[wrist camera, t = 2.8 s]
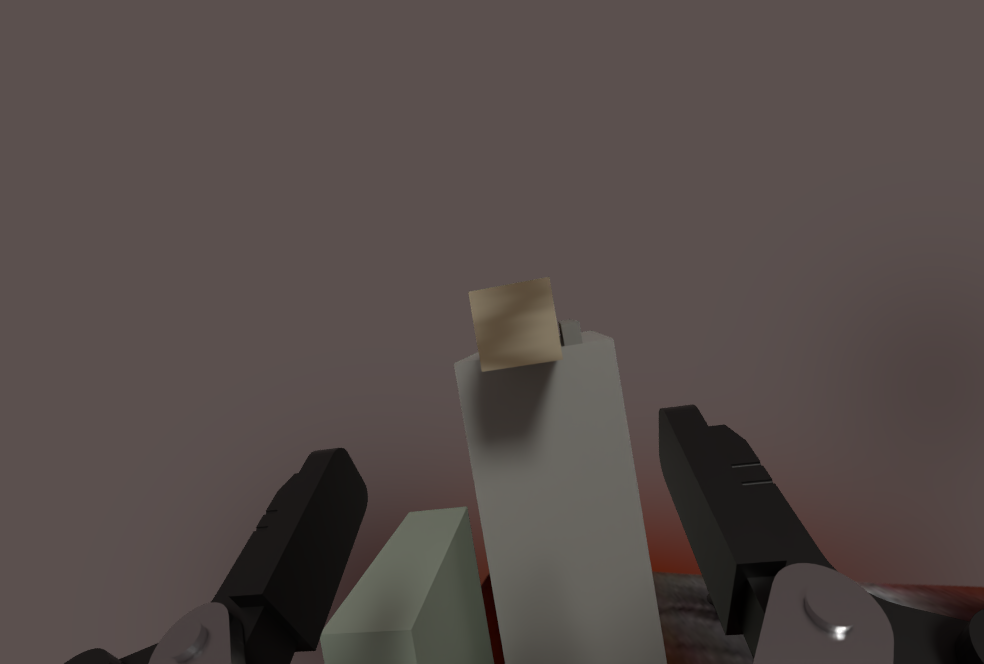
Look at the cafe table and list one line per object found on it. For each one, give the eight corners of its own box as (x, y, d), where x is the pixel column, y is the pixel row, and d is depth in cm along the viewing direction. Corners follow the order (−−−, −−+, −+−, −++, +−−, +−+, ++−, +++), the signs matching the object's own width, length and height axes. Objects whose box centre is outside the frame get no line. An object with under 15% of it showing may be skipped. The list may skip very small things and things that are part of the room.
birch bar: (557, 336, 42) (551, 298, 42) (563, 359, 19) (549, 276, 19) (520, 342, 42) (513, 305, 42) (482, 371, 20) (468, 292, 20)
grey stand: (642, 633, 42) (589, 316, 41) (690, 807, 27) (609, 316, 26) (537, 637, 43) (485, 333, 43) (529, 804, 29) (450, 342, 28)
